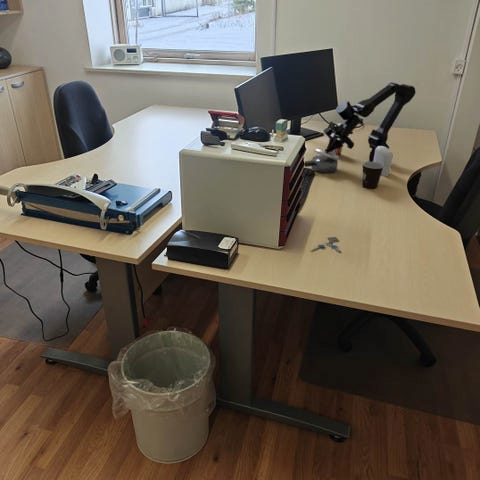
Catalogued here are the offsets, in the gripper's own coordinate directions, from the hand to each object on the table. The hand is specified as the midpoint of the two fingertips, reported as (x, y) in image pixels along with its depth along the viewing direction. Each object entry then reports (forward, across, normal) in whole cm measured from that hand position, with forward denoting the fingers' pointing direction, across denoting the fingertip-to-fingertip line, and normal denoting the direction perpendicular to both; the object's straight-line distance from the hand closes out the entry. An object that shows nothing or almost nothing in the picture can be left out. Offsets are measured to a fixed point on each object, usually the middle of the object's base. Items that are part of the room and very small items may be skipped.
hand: (326, 152), depth 209 cm
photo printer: (-9, +13, +22) cm, 28 cm away
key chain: (+33, +65, -22) cm, 76 cm away
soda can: (-5, -17, +18) cm, 25 cm away
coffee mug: (+1, +25, +12) cm, 27 cm away
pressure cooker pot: (+9, 0, +3) cm, 9 cm away
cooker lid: (+1, 0, +1) cm, 1 cm away
